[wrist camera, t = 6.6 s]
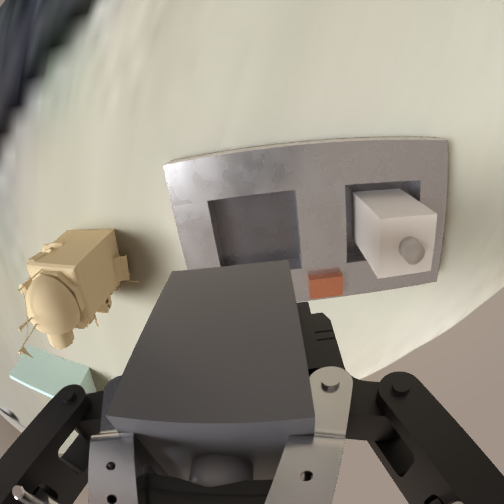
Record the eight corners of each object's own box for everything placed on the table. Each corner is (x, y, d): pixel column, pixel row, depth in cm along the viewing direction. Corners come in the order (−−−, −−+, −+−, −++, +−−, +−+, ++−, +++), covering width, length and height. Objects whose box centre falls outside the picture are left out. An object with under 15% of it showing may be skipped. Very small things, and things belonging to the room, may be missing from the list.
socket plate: (171, 160, 25) (159, 167, 22) (433, 137, 23) (452, 141, 20) (203, 296, 31) (197, 315, 28) (426, 269, 29) (439, 285, 26)
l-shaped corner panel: (30, 344, 37) (8, 374, 31) (90, 366, 38) (70, 402, 31) (49, 388, 42) (33, 416, 36) (103, 408, 43) (89, 441, 36)
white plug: (352, 191, 25) (387, 225, 18) (399, 188, 25) (445, 219, 17) (353, 240, 27) (383, 287, 20) (397, 235, 27) (437, 278, 19)
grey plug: (172, 271, 12) (89, 455, 4) (288, 259, 12) (322, 468, 4) (197, 355, 14) (163, 517, 6) (294, 348, 13) (313, 520, 6)
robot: (68, 291, 32) (1, 376, 18) (50, 229, 28) (-40, 303, 15) (142, 296, 31) (85, 404, 18) (128, 226, 28) (40, 320, 14)
